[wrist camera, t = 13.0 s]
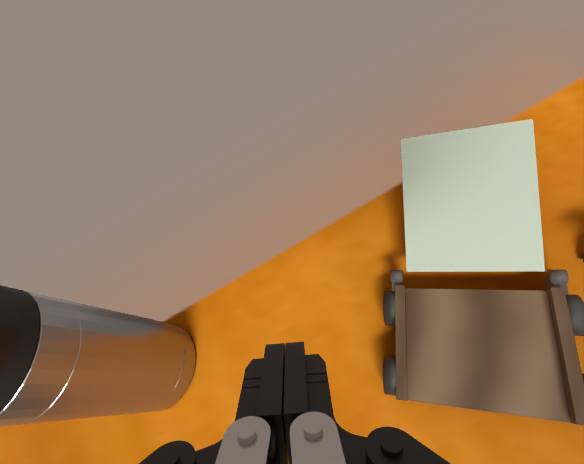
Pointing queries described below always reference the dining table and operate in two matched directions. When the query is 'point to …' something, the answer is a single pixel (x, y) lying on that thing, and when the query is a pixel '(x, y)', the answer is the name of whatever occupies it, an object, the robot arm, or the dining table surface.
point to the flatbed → (488, 348)
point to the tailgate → (472, 200)
